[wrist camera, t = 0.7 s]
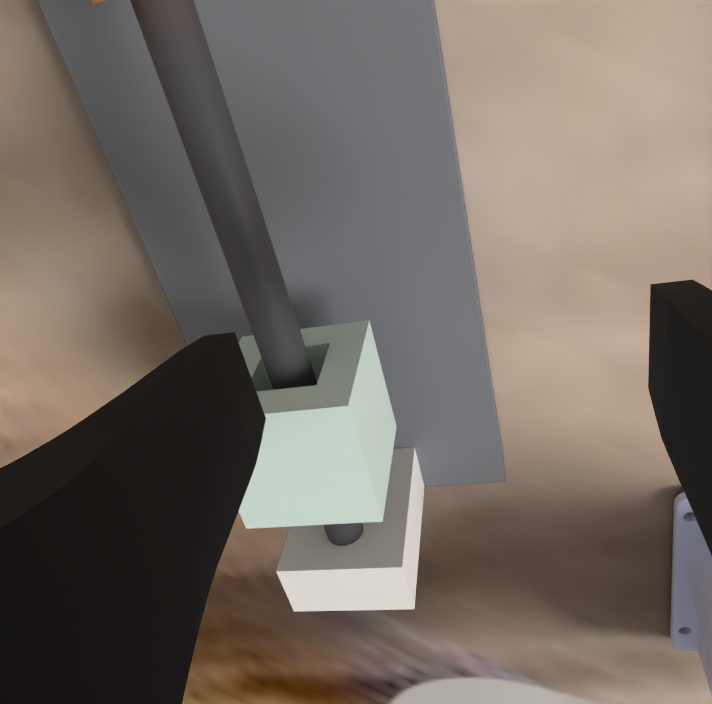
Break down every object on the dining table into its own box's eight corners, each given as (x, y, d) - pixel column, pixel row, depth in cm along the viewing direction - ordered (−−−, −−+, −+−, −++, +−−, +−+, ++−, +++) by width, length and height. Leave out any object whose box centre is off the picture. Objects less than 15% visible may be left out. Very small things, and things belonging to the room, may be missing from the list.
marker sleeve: (396, 426, 21) (382, 522, 18) (279, 436, 22) (246, 528, 19) (369, 320, 19) (348, 405, 16) (241, 336, 20) (197, 420, 17)
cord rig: (504, 459, 25) (512, 607, 20) (260, 476, 28) (210, 612, 22) (385, -319, 14) (331, -462, 8) (-9, -173, 16) (-244, -212, 11)
